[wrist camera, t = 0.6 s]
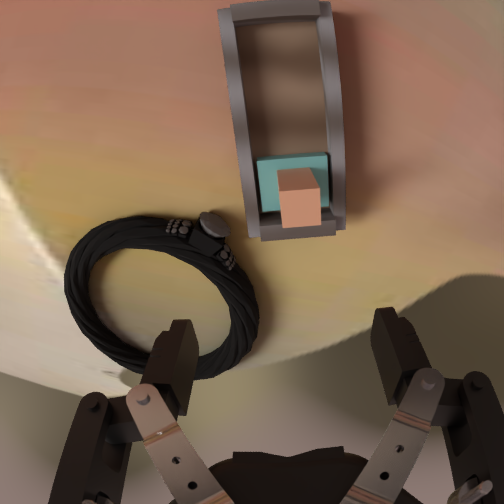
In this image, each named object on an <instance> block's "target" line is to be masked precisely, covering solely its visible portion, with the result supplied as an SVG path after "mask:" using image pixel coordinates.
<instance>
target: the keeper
mask: <svg viewBox="0 0 504 504" xmlns="http://www.w3.org/2000/svg"><path fill="white" fill-rule="evenodd" d="M257 168H258V177H259V185H260V193H261V202H262V210H263V212H265V211H276V210H281V218H282V227H283V228H291V227H303V226H315V225H321V207H326V206H329V188H328V163H327V155H326V154H325V152H314V153H300V154H287V155H275V156H265V157H257Z"/></svg>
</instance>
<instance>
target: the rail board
mask: <svg viewBox="0 0 504 504" xmlns="http://www.w3.org/2000/svg"><path fill="white" fill-rule="evenodd" d="M217 12H218V19H219V27H220V34H221V41H222V48H223V55H224V62H225V70H226V77H227V84H228V91H229V98H230V105H231V112H232V120H233V127H234V134H235V141H236V148H237V155H238V162H239V169H240V177H241V184H242V191H243V198H244V205H245V212H246V219H247V226H248V233H249V238H252V237H261V241H273V240H285V239H296V238H308V237H320V236H332V235H336V230H346V178H345V145H344V125H343V109H342V96H341V84H340V73H339V63H338V54H337V46H336V38H335V30H334V23H333V16H332V10H331V3H330V2H329V1H319V0H268V1H257V2H247V3H239V4H232V5H230V8H224V9H218V10H217ZM314 152H325V154H326V155H327V163H328V188H329V206H326V207H321V225H315V226H303V227H291V228H283V227H282V218H281V210H276V211H265V212H263V210H262V202H261V193H260V185H259V177H258V168H257V157H265V156H275V155H287V154H300V153H314Z"/></svg>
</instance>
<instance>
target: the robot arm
mask: <svg viewBox="0 0 504 504" xmlns="http://www.w3.org/2000/svg"><path fill="white" fill-rule="evenodd" d="M371 347H372V350H373V353H374V357H375V360H376V363H377V366H378V370H379V373H380V376H381V380H382V384H383V387H384V391H385V394H386V398H387V402H388V405H394V404H397V408H398V410H397V412H396V413H395V415H394V417H393V419H392V421H391V423H390V425H389V426H388V428H387V430H386V432H385V434H384V436H383V437H382V439H381V441H380V443H379V444H378V446H377V448H376V450H375V451H374V453H373V455H372V456H371V458H370V460H367V459H365V458H363V457H361V456H359V455H355V454H351V453H345V452H344V448H343V446H339V447H331V448H321V449H315V450H312V451H309V452H305V453H302V454H298V455H295V456H291V457H284V456H279V455H273V454H268V453H263V452H233V458H231V459H227V460H224V461H221V462H219V463H216V464H215V465H213V466H211V467H210V468H207V467H206V465H205V464H204V462H203V461H202V459H201V458H200V457H199V455H198V454H197V452H196V451H195V449H194V448H193V446H192V445H191V444H190V442H189V441H188V439H187V437H186V436H185V435H184V433H183V431H182V430H181V428H180V426H179V425H178V424H177V418H178V415H180V416H186V414H187V409H188V405H189V400H190V395H191V390H192V385H193V380H194V376H195V371H196V366H197V362H198V357H199V345H198V341H197V338H196V334H195V331H194V328H193V324H192V321H191V320H190V319H181V320H173V321H172V324H171V327H170V330H169V331H162V333H161V334H160V335H159V336H158V337H157V338H156V340H155V342H154V345H153V348H152V351H151V353H150V357H149V359H148V362H147V365H146V367H145V370H144V373H143V376H142V379H141V382H140V384H139V385H137V386H135V387H133V388H132V389H131V390H130V391H129V392H128V394H127V395H126V396H122V397H116V398H110V399H107V397H106V396H105V395H104V394H102V393H100V392H92V393H89V394H87V395H85V396H84V397H83V398H82V399H81V401H80V403H79V406H78V408H77V411H76V414H75V417H74V420H73V422H72V425H71V428H70V432H69V434H68V437H67V440H66V443H65V446H64V450H63V453H62V456H61V459H60V463H59V466H58V469H57V472H56V476H55V479H54V483H53V487H52V490H51V494H50V498H49V502H48V504H120V503H121V497H122V492H123V487H124V481H125V476H126V471H127V466H128V461H129V456H130V451H131V446H132V442H136V441H141V440H144V441H143V443H144V445H145V448H146V449H147V451H148V453H149V455H150V457H151V459H152V461H153V462H154V464H155V466H156V468H157V470H158V471H159V473H160V475H161V477H162V478H163V480H164V482H165V484H166V485H167V487H168V489H169V490H170V492H171V494H172V495H173V497H174V498H175V499H174V500H172V501H171V502H170V503H169V504H423V503H421V502H420V501H418V499H416V498H415V497H414V496H412V495H411V494H410V493H408V492H407V491H406V490H405V489H403V488H402V487H403V486H404V484H405V482H406V480H407V478H408V476H409V474H410V472H411V470H412V468H413V466H414V464H415V462H416V460H417V458H418V456H419V454H420V452H421V450H422V447H423V445H424V443H425V441H426V439H427V436H428V434H429V431H430V428H431V426H441V427H442V431H443V435H444V439H445V443H446V448H447V452H448V456H449V461H450V466H451V471H452V476H453V481H454V486H455V491H454V492H453V493H452V494H451V495H450V496H449V498H448V501H447V504H504V414H503V411H502V408H501V406H500V403H499V401H498V398H497V396H496V393H495V391H494V388H493V386H492V384H491V381H490V379H489V378H488V377H487V376H486V375H485V374H484V373H482V372H477V371H473V372H470V373H468V374H467V375H466V376H465V377H464V379H449V378H444V377H443V375H442V374H441V373H440V372H439V371H438V370H436V369H433V368H432V367H431V365H430V363H429V360H428V358H427V356H426V353H425V351H424V349H423V347H422V344H421V342H419V338H418V336H417V335H416V332H415V329H414V327H413V326H412V324H411V323H410V322H409V321H408V320H407V319H406V318H405V317H400V318H398V316H397V314H396V312H395V309H394V308H393V307H385V308H377V309H376V310H375V314H374V319H373V325H372V330H371Z"/></svg>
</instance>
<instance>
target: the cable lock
mask: <svg viewBox="0 0 504 504" xmlns="http://www.w3.org/2000/svg"><path fill="white" fill-rule="evenodd" d="M191 225H192V222H190V221H187V220H184V222H183V220H181V219H178V220H175V219H172V220H171V221H167V220H164V219H161V218H152V217H143V216H132V217H127V218H123V219H119V220H115V221H107V222H105V223H103V224H101V225H99V226H97V227H95V228H93V229H91V230H90V231H89V232H88V233H87V234H86V235H85V236H84V237H83V238H82V239H81V240H80V241H79V242H78V243H77V244H76V246H75V247H74V248H73V250H72V251H71V253H70V256H69V259H68V262H67V265H66V269H65V273H64V292H65V295H66V298H67V301H68V305H69V308H70V311H71V314H72V316H73V318H74V319H75V321H76V323H77V325H78V326H79V328H80V330H81V331H82V333H83V334H84V335H85V336H86V337H87V338H88V339H89V340H90V341H91V342H92V343H93V345H94V346H95V347H96V348H97V349H99V350H100V351H101V352H103V353H104V354H105V355H107V356H108V357H109V358H111V359H112V360H113V361H115V362H117V363H118V364H119V365H121V366H123V367H125V368H127V369H129V370H131V371H133V372H135V373H139V374H143V373H144V370H145V367H146V365H147V362H148V359H149V357H150V355H146V354H144V353H142V352H140V351H139V350H137V349H135V348H133V347H131V346H129V345H127V344H125V343H123V342H122V341H121V340H120V339H119V338H118V337H116V336H115V335H114V334H113V333H112V332H111V331H110V330H109V329H107V328H106V327H105V325H104V324H103V323H102V322H101V321H100V319H99V318H98V316H97V314H96V312H95V310H94V308H93V306H92V304H91V301H90V299H89V296H88V281H89V276H90V271H91V269H92V268H93V266H94V264H95V263H96V262H97V261H98V260H99V259H101V258H102V257H103V256H105V255H108V254H110V253H112V252H114V251H117V250H119V249H123V248H133V249H149V250H155V251H160V252H165V253H167V254H169V255H171V256H174V257H176V258H178V259H180V260H182V261H184V262H186V263H188V264H190V265H192V266H194V267H196V268H197V269H199V270H200V271H201V272H202V273H203V274H204V275H205V276H206V277H207V278H208V279H209V280H210V281H211V282H212V283H214V284H215V285H216V286H217V288H218V289H219V291H220V293H221V294H222V296H223V298H224V299H225V301H226V303H227V304H228V306H229V311H230V317H231V327H230V332H229V335H228V337H227V338H226V339H225V341H224V342H223V344H222V345H221V346H220V347H219V348H217V349H216V350H214V351H213V352H211V353H209V354H206V355H204V356H201V357H198V362H197V366H196V371H195V376H194V380H200V379H208V378H214V377H215V376H217V375H219V374H221V373H223V372H225V371H227V370H229V369H231V368H233V367H234V366H236V365H237V364H238V363H239V362H240V360H241V359H242V357H244V356H245V355H246V354H247V353H248V352H249V351H251V348H252V344H253V342H254V340H255V339H256V337H257V332H258V325H259V309H258V304H257V301H256V297H255V293H254V289H253V286H252V284H251V282H250V281H249V279H248V277H247V275H246V273H245V272H244V271H243V270H242V269H241V268H240V267H239V265H238V264H237V263H236V258H235V256H234V255H233V253H232V251H231V249H229V246H228V245H227V244H226V243H225V242H224V240H225V237H226V236H229V235H230V233H231V232H230V228H229V226H228V225H227V224H226V223H225V221H224V220H223V219H222V218H221V217H220V216H218V215H215V214H212V213H209V212H202V213H201V214H200V217H199V219H198V221H197V223H196V225H195V227H194V229H190V227H191ZM194 380H193V381H194Z"/></svg>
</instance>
